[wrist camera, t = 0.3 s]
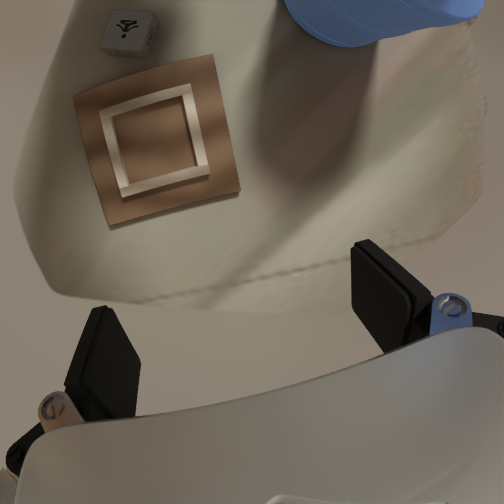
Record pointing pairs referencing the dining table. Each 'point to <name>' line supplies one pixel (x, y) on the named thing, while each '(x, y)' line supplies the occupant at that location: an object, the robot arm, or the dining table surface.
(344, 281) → the dining table surface
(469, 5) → the water jug
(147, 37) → the dice cube
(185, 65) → the pocket board
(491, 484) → the robot arm
